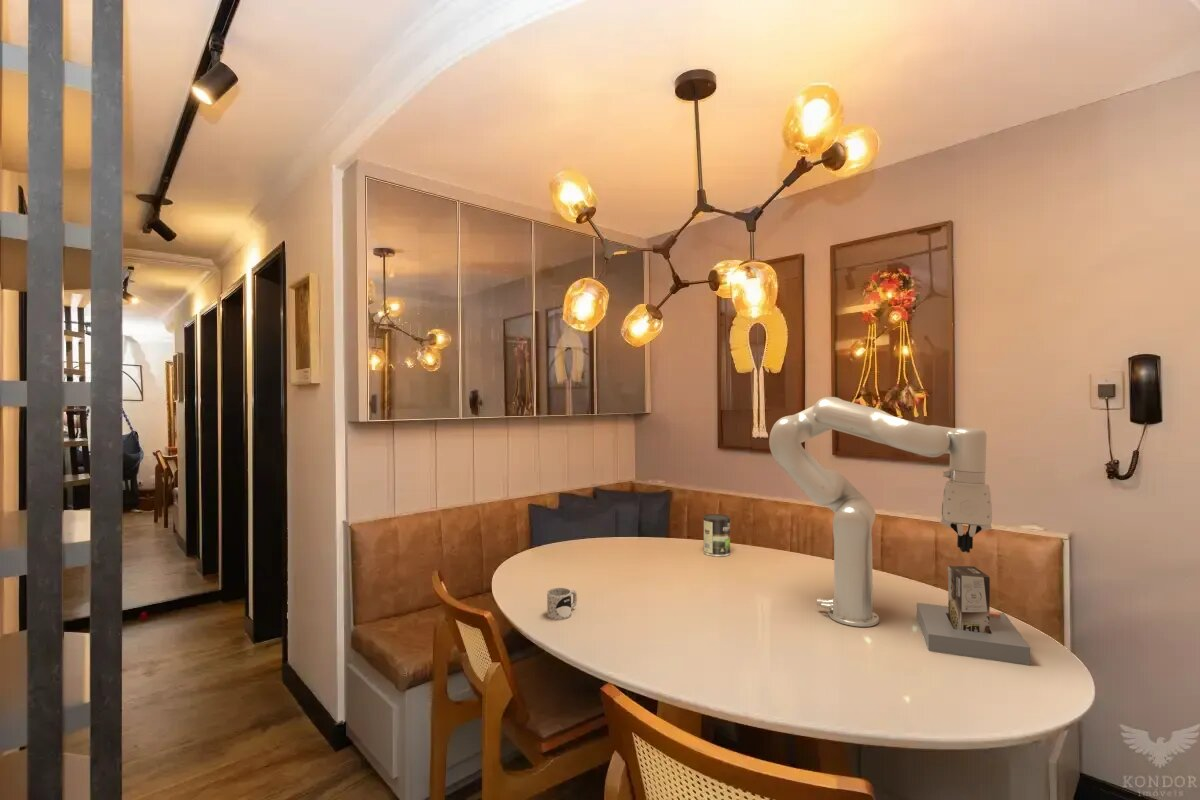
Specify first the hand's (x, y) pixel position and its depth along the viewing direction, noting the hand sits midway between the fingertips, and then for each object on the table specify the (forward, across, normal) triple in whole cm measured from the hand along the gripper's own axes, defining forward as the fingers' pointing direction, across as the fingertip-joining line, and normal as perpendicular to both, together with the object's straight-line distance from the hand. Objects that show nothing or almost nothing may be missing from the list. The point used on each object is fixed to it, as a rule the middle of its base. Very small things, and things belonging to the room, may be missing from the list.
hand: (964, 550), depth 143 cm
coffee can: (+24, -72, +55) cm, 93 cm away
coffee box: (+21, +1, 0) cm, 21 cm away
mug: (+25, -100, -22) cm, 105 cm away
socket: (+22, +1, 0) cm, 22 cm away
